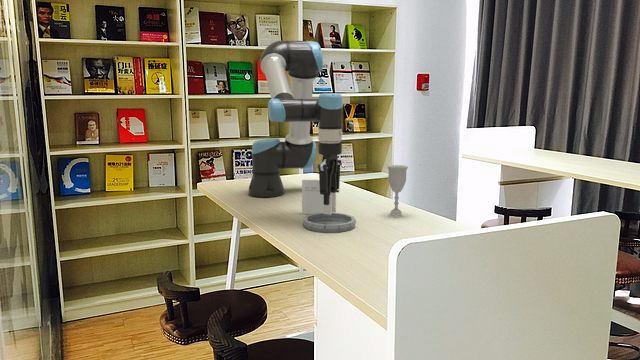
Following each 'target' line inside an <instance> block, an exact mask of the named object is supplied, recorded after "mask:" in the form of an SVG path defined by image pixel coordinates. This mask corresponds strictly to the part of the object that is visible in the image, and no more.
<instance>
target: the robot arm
mask: <svg viewBox="0 0 640 360" xmlns="http://www.w3.org/2000/svg"><path fill="white" fill-rule="evenodd" d="M323 58H324V57H323V52H322V48H321V46H320V43H319V42H317V41H310V40H281V39H280V40H277V41H276V40H275V41H274V42H272V43H270V44H268V45H267V46H266V48H265V49H263V51H262V53H261V54H260V58H259V67H260V70H261V71H262V73H263V74H264V75H265V79H266V82H267V87H268V91H269V95H270V99H269V100H268V104H267V116H268V119H269V120H270V122H277V123H278V122H279V123H288V122H289V128H288V130H289V131H288V132H289V133H287V135H286V136H285V139H284V141H281V140H280V138H278V137H275V138H274V137H268V138H264V139H263V138H262V139H259V140H256V141H254V142H253V143H252V145H251V155H252V156H251V157H252V162H251V163H252V165H251V166H252V172H251V173H252V176H251V180H250V184H249V186H248V195H250V196H251V197H261V198H270V197H280V196H282V195H284V194H285V187H284V184H283V180H282V177H281V170H284V169H285V170H287V169H289V170H290V169H291V170H292V169H301V170H302V169H308V168H311V167H312V166H313V165H314V163H315V160H316V156H317V145H316V141H315V140H313V137H312V136H311V135H310V130H311V122H313V123H314V122H318V134H317V135H318V139H317V140H318V141H319V143H318V154H319V155H321V156H322V159H321V163H320V164H319V163H318V165H317V168H318V177H319V179H318V180H319V183H320V194H322V195H323V214H328V215H331V214H332V212H333V213H337V193H339V192H340V182H341V181H340V178H341V164H342V160H341V159H338V158H339V157H338V156H339V155H341V154H342V152H343V151H342V149H343V146H342V145H343V143H341V142H342V140H343V139H342V138H343V135H344V133H343V131H342V130H343V106H344V105H343V95H342V94H341V93H320V94H319V95H318V98H313V91H314V90H313V89H314V88H313V87H314V81H315V79H317V78H318V74H319V73H320V72H322V71H323V68H324V59H323ZM287 72H288V75H287ZM288 77H289V78H291V85H290V80H289V78H288Z"/></svg>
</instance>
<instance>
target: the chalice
mask: <svg viewBox="0 0 640 360" xmlns="http://www.w3.org/2000/svg"><path fill="white" fill-rule="evenodd" d="M408 168H409V166H408V165H405V164H404V165H402V164H391V165H390V164H389V165H387V170H388V179H387V180H388V183H389V186H390V188H391V190H392V192H393V193H394V197H393V198H394V202H393V203H394V208H393V209H392V210H390V213H389V215H388V217H389V218H393V219H400V218H403V217H404V215H403V212H402V211H401V209H399V207H398V206H399V199H400V197H399V194H400V193H401V192H402V190H403V189H404V187H405V184H406V182H407V170H408Z"/></svg>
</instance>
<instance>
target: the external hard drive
mask: <svg viewBox="0 0 640 360" xmlns="http://www.w3.org/2000/svg"><path fill="white" fill-rule="evenodd" d="M301 183H302V184H301V185H302V186H301V214H303V215H309V214H315V213H323V195H322V194H320V183H319V179H304V178H303V179H301Z"/></svg>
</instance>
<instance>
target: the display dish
mask: <svg viewBox="0 0 640 360" xmlns="http://www.w3.org/2000/svg"><path fill="white" fill-rule="evenodd" d="M302 220H303V227H304V228H305V229H306V230H309V231H311V232H316V233H326V234H329V233H330V234H334V233H335V234H337V233H344V232H349V231H352V230H354V229H355V228H356V224H357V220H356V217H355V216H353V215H350V214H347V213H342V212H341V213H340V212H332V214H331V215H328V214H323V213H315V214H306V215H305V216H303V219H302Z"/></svg>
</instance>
